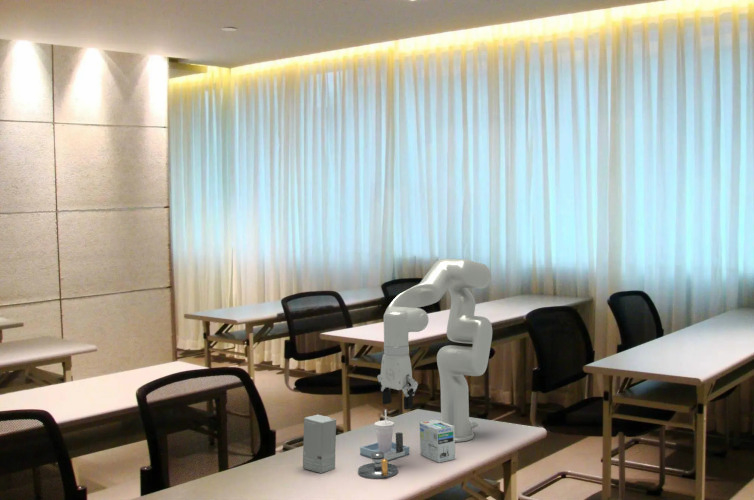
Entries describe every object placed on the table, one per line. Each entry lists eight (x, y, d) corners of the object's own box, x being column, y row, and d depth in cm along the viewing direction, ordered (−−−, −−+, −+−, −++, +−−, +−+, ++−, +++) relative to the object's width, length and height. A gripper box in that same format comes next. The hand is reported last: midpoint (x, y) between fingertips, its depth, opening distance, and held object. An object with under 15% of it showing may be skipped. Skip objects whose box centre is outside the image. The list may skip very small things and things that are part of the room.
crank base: (379, 463, 251) (379, 445, 251) (406, 472, 242) (406, 454, 241) (350, 472, 243) (349, 454, 243) (376, 482, 234) (376, 463, 234)
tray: (386, 447, 268) (385, 439, 267) (409, 454, 259) (409, 446, 259) (360, 454, 260) (360, 447, 260) (383, 462, 252) (383, 454, 252)
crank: (377, 464, 240) (376, 442, 239) (368, 461, 243) (367, 439, 242) (406, 455, 247) (406, 433, 247) (397, 452, 250) (397, 431, 250)
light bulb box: (456, 459, 253) (455, 425, 252) (438, 463, 249) (437, 429, 249) (436, 451, 262) (435, 418, 262) (419, 454, 259) (418, 421, 258)
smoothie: (393, 456, 256) (391, 412, 255) (373, 455, 257) (372, 412, 256) (396, 450, 262) (395, 407, 261) (377, 449, 263) (375, 407, 263)
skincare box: (302, 468, 248) (300, 418, 247) (318, 462, 253) (317, 413, 252) (321, 474, 242) (320, 422, 241) (338, 468, 248) (336, 417, 247)
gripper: (368, 349, 251) (370, 403, 252) (406, 355, 238) (407, 413, 239) (386, 346, 256) (388, 399, 257) (425, 352, 243) (426, 408, 243)
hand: (397, 406), depth 248 cm, fingers open, 9 cm apart
